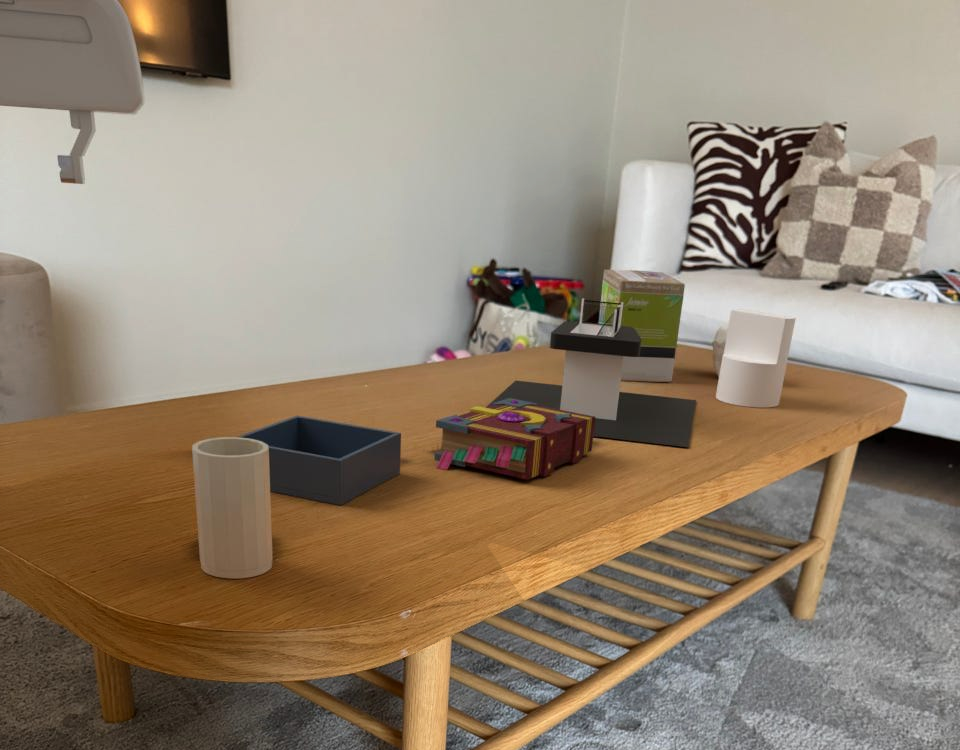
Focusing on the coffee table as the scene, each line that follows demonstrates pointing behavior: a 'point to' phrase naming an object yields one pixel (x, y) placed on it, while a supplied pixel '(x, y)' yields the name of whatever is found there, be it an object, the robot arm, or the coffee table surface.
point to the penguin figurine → (719, 346)
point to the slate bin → (328, 458)
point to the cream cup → (233, 506)
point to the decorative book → (515, 438)
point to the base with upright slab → (754, 358)
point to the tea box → (646, 319)
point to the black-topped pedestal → (606, 384)
